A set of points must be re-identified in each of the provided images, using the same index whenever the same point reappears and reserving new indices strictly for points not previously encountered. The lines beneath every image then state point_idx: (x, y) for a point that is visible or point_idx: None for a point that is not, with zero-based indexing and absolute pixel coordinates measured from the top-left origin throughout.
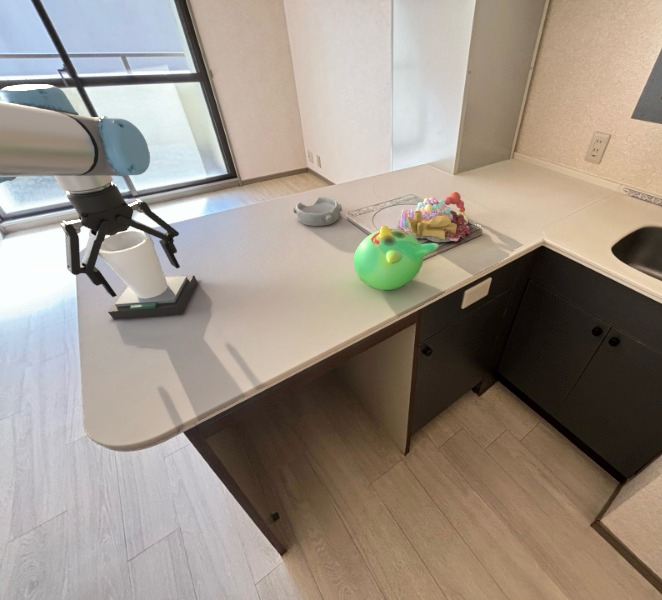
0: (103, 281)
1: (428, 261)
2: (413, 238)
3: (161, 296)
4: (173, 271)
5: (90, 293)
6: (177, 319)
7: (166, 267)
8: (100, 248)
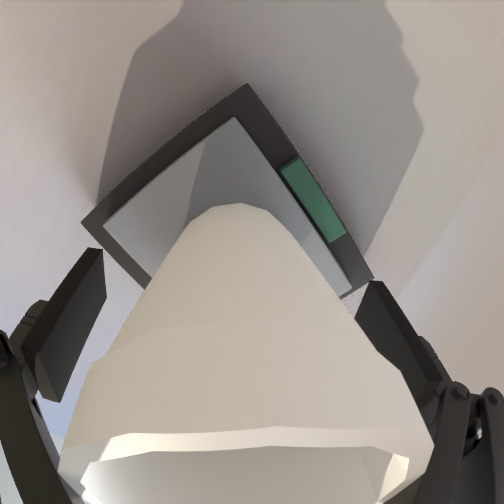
0: (413, 335)
1: None
2: None
3: (245, 186)
4: (120, 323)
5: None
6: (273, 75)
7: None
8: (353, 496)
